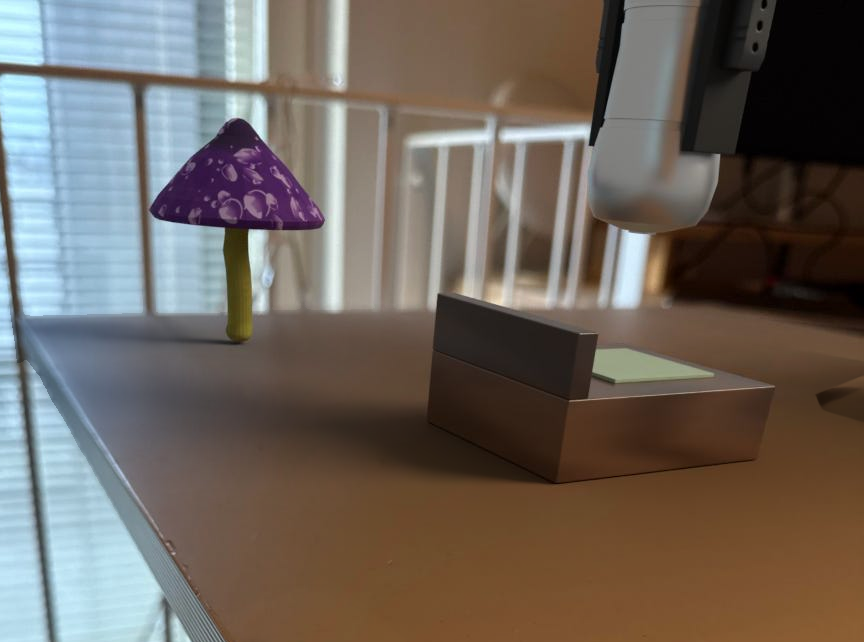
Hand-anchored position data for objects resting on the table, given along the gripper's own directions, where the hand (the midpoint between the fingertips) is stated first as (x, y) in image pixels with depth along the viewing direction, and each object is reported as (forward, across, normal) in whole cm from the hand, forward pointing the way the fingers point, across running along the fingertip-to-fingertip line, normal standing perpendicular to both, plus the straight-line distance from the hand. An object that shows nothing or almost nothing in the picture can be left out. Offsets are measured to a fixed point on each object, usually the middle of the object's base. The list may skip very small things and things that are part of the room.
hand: (658, 149), depth 48 cm
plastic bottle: (+4, 0, 0) cm, 4 cm away
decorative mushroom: (+15, -30, -10) cm, 35 cm away
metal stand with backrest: (+15, 0, -2) cm, 15 cm away
